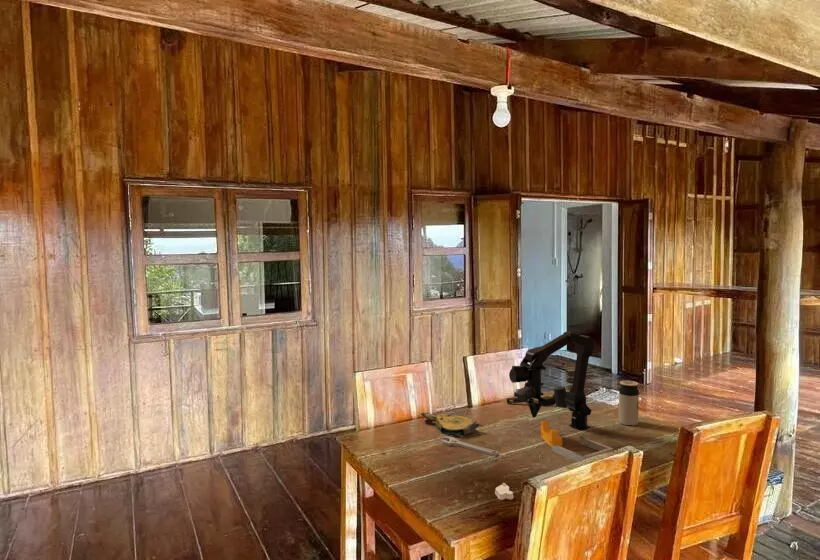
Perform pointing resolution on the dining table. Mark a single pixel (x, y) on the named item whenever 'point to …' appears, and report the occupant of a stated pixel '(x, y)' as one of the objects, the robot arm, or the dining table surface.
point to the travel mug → (628, 403)
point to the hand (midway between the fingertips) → (534, 417)
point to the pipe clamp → (550, 434)
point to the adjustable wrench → (467, 446)
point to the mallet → (558, 396)
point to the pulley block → (453, 424)
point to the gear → (504, 492)
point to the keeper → (582, 441)
